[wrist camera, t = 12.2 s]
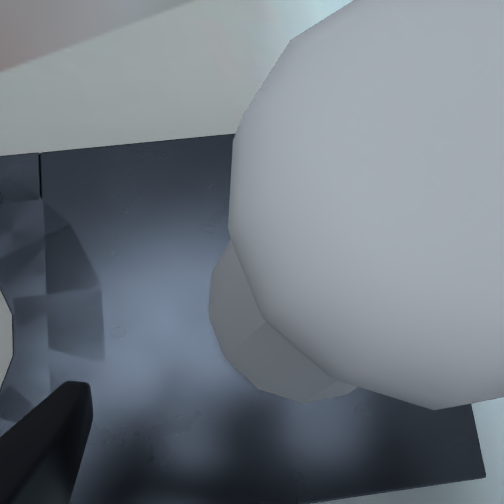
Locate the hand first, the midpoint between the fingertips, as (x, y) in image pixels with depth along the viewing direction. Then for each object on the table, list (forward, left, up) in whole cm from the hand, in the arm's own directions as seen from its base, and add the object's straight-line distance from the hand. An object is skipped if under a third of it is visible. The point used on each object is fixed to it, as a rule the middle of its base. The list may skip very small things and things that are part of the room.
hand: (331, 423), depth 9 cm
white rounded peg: (+2, -2, -8) cm, 8 cm away
